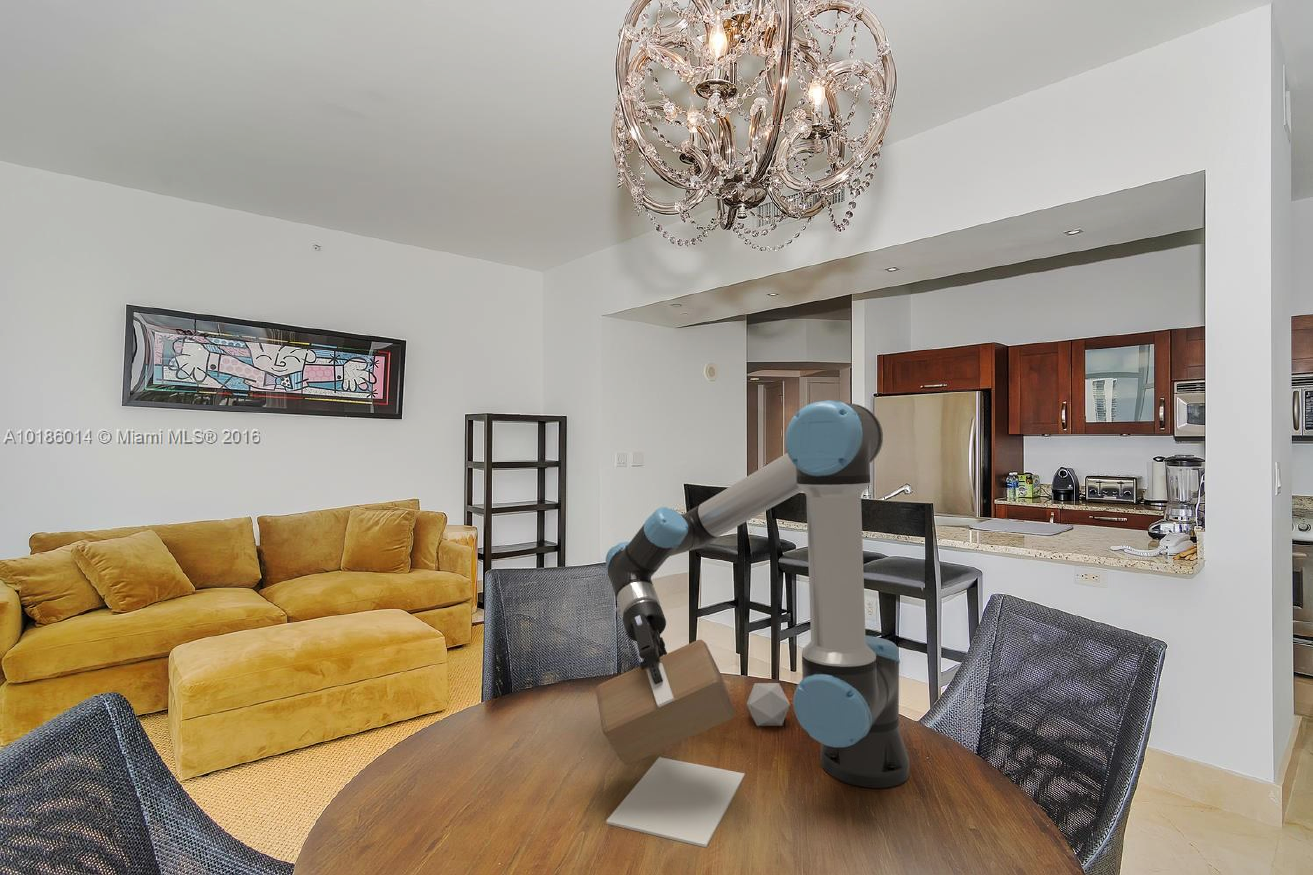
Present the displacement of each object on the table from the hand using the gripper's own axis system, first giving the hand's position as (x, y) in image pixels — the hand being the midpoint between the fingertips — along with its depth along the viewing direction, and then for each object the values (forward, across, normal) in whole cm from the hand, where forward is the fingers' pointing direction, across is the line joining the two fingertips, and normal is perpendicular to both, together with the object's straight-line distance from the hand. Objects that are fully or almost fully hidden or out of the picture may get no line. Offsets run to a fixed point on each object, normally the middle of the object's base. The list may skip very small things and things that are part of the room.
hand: (676, 719), depth 107 cm
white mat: (+6, -11, -5) cm, 14 cm away
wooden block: (-4, 0, -11) cm, 12 cm away
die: (-10, -36, +13) cm, 39 cm away
